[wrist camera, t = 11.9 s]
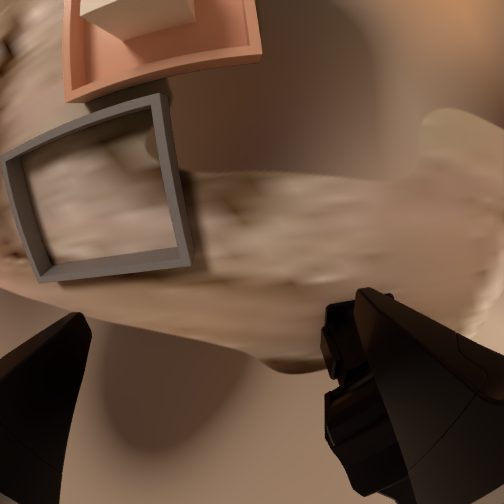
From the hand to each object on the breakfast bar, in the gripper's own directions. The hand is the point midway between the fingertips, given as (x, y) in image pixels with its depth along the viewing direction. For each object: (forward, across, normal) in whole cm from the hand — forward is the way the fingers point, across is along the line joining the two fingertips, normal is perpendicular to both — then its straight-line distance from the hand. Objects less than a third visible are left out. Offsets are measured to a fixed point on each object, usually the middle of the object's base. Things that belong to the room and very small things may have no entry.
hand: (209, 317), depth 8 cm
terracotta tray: (+11, +3, -16) cm, 19 cm away
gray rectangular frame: (+12, +10, -2) cm, 15 cm away
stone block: (+11, +3, -16) cm, 19 cm away
